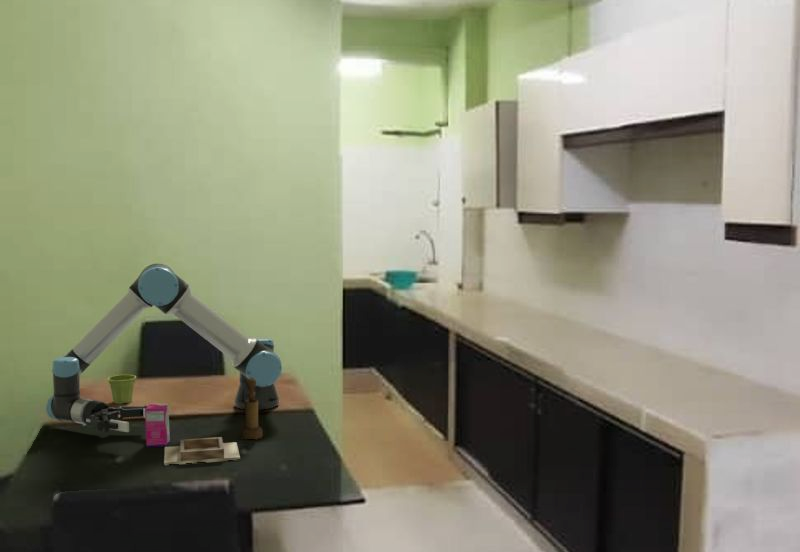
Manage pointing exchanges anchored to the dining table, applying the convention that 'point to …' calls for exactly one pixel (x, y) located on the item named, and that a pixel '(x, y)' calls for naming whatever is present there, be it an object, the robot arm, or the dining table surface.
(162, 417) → the supplement box
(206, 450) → the dock
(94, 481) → the dining table surface
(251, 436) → the brown tall column piece
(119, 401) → the plant pot
